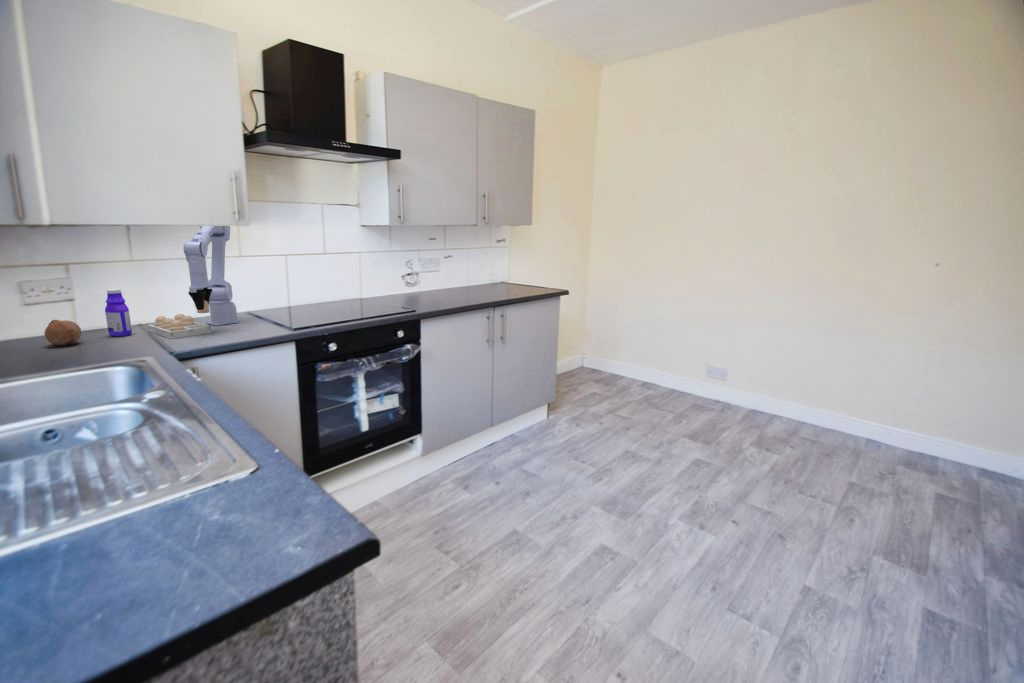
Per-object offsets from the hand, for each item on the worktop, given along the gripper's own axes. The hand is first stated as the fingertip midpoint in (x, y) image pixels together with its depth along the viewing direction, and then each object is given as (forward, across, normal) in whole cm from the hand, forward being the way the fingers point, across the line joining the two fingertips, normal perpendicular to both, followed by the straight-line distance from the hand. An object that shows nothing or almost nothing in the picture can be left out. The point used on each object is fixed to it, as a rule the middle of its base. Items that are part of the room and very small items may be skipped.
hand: (202, 308), depth 194 cm
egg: (+1, 0, 0) cm, 1 cm away
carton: (+9, +2, +10) cm, 14 cm away
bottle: (+10, -2, +28) cm, 30 cm away
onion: (+10, -16, +38) cm, 43 cm away
